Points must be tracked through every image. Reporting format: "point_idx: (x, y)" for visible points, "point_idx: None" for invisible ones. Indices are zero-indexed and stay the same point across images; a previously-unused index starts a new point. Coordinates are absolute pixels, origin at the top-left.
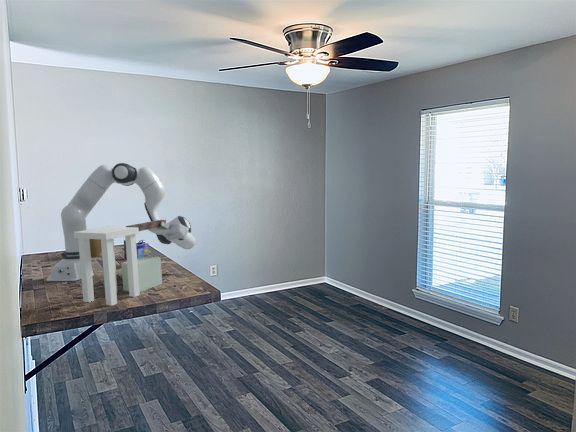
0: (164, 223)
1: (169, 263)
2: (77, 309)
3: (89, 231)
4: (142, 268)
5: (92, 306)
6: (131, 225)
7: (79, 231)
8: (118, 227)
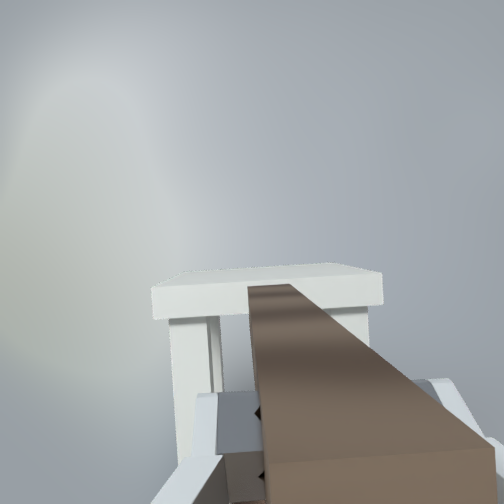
0: (192, 465)
1: None
2: None
3: (290, 266)
4: None
5: (265, 501)
6: (276, 288)
7: (330, 263)
8: (273, 277)
